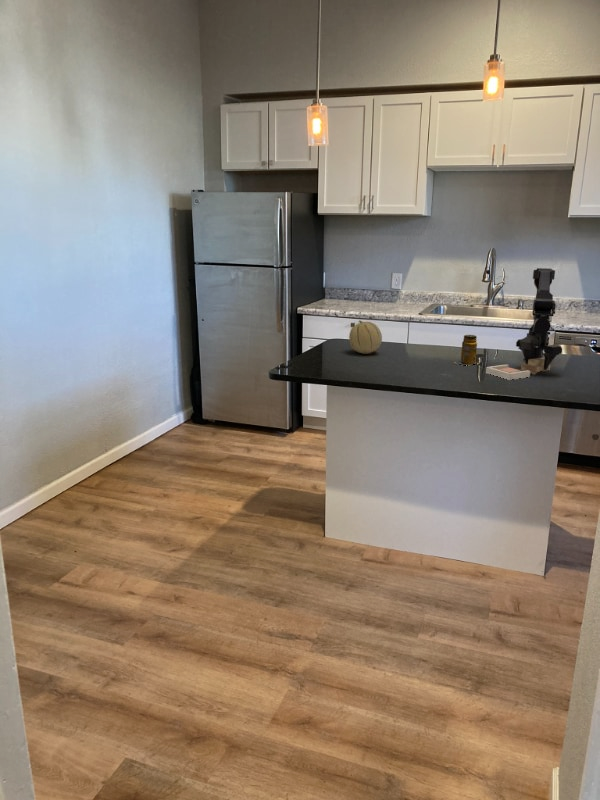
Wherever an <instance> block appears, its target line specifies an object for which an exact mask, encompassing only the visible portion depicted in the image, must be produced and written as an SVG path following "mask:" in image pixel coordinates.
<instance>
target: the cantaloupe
mask: <svg viewBox="0 0 600 800" xmlns="http://www.w3.org/2000/svg"><path fill="white" fill-rule="evenodd" d="M382 335H383V334H382V332H381V330H380V328H379V326H377V324H375V323H373V322H371V321H363V320H358V323H356V324H355V325H354V326H353V327H352V328H351V329H350V332H349V336H348V338H349V343H350V346H351V348H352V349H353V350H354V351H355V352H357V353H359V354H363V355H365V354H366V355H368V354H371V353H374V352H375V351H377V350H378V349H379V347H380V346H381V344H382V343H383V342H382V341H383V336H382Z"/></svg>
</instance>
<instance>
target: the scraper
mask: <svg viewBox="0 0 600 800" xmlns="http://www.w3.org/2000/svg"><path fill="white" fill-rule="evenodd" d="M544 359H545V357H542V358H537V359H529V360H528V364H526V363H525V362H523V363H520V371H527V370H528V371H530V374H531V373H532V375H537V373H541V372H540V371H542V372H547V371H548V370H549V371H550V370H551V364H552V362H551V363H550V365H549V367H548V368H547V370H544Z"/></svg>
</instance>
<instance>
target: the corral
mask: <svg viewBox="0 0 600 800" xmlns="http://www.w3.org/2000/svg"><path fill="white" fill-rule="evenodd" d="M502 368H510V367H509V364H500V365H493V366H487V367H485V374H487V375H490V374H491V375H490V376H493V375H494V376H493V377H496V376H498V377H497V378H500V377H501V379H503V378H504V379H503V380H506V379H507V381H513V380H512V379H514V380H520V379H519V378H521V379H526V377H528V378H530V375H531V373H530V371H528V370H527V371H521V370H520V372H513V373H508V372H505V371H501V370H498V369H502Z"/></svg>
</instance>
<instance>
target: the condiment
mask: <svg viewBox="0 0 600 800" xmlns="http://www.w3.org/2000/svg"><path fill="white" fill-rule="evenodd" d="M462 340H463V341H462V343H461V353H460V354H461V355H460V356H461V357H460V362H461V363H462V364H466V366H465V367H469V366H474V365H473V364H475V363H477V365H480V363H478V362H476V360H477V350H478V349H477V348H478V343H477V335H475V334H465V335H463V339H462ZM458 362H459V361H453V364H456V365H459V364H458ZM467 365H468V366H467Z"/></svg>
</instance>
